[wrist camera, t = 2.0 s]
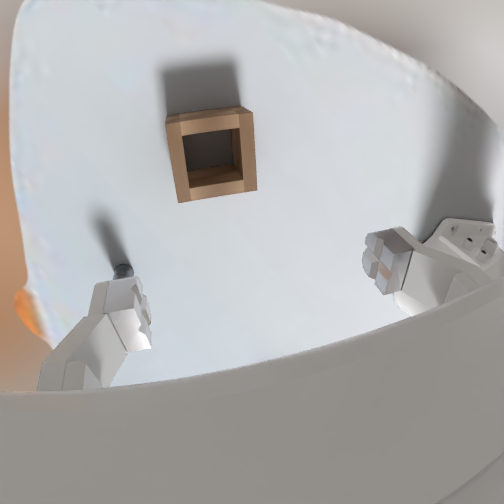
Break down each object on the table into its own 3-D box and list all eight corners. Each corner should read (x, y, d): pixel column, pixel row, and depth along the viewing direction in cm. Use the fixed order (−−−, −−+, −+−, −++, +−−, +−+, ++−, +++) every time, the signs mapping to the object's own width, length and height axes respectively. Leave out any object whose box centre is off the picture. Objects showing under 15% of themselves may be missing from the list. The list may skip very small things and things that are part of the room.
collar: (241, 105, 23) (252, 112, 20) (246, 173, 26) (257, 190, 23) (166, 116, 22) (165, 124, 19) (177, 184, 26) (178, 203, 22)
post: (130, 262, 29) (124, 308, 23) (136, 278, 30) (132, 325, 25) (112, 266, 28) (103, 312, 23) (118, 281, 29) (111, 328, 24)
